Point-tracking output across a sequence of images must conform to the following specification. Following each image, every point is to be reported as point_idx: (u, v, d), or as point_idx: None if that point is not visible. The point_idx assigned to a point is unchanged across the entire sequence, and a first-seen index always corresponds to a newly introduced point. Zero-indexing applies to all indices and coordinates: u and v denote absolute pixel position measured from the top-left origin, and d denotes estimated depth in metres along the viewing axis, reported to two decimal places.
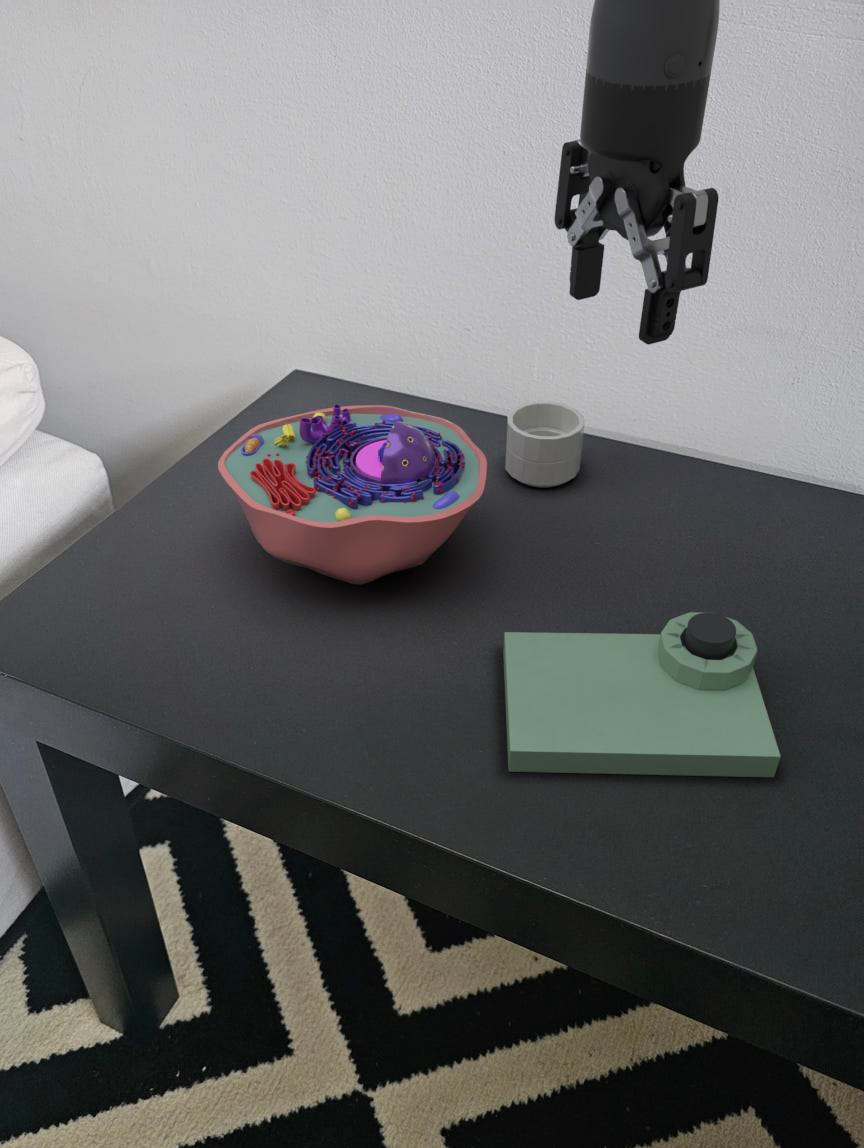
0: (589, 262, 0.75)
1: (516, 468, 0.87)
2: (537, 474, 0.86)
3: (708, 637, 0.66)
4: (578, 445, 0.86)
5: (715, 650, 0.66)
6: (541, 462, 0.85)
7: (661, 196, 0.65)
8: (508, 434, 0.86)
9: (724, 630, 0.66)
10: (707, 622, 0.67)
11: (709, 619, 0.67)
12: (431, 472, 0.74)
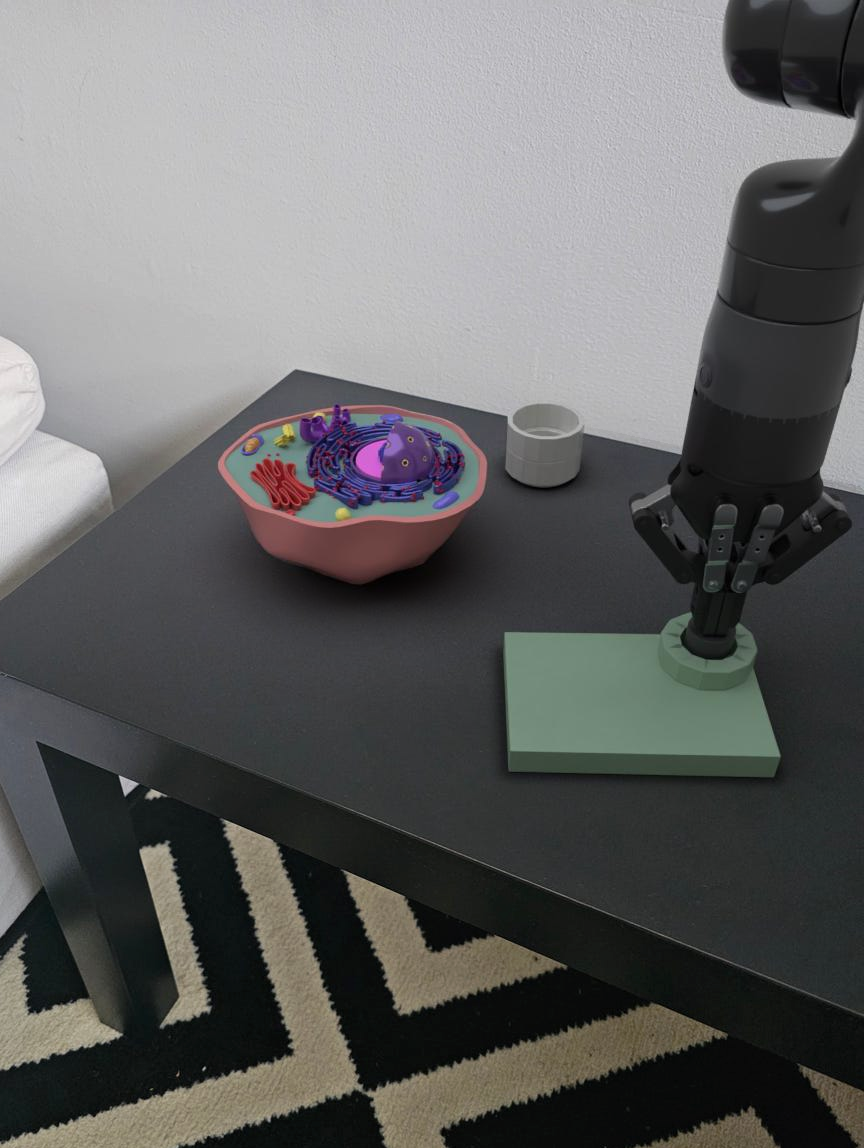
0: None
1: (516, 468, 0.87)
2: (537, 474, 0.86)
3: (708, 637, 0.66)
4: (578, 445, 0.86)
5: (715, 650, 0.66)
6: (541, 462, 0.85)
7: (821, 493, 0.58)
8: (508, 434, 0.86)
9: None
10: None
11: None
12: (431, 472, 0.74)
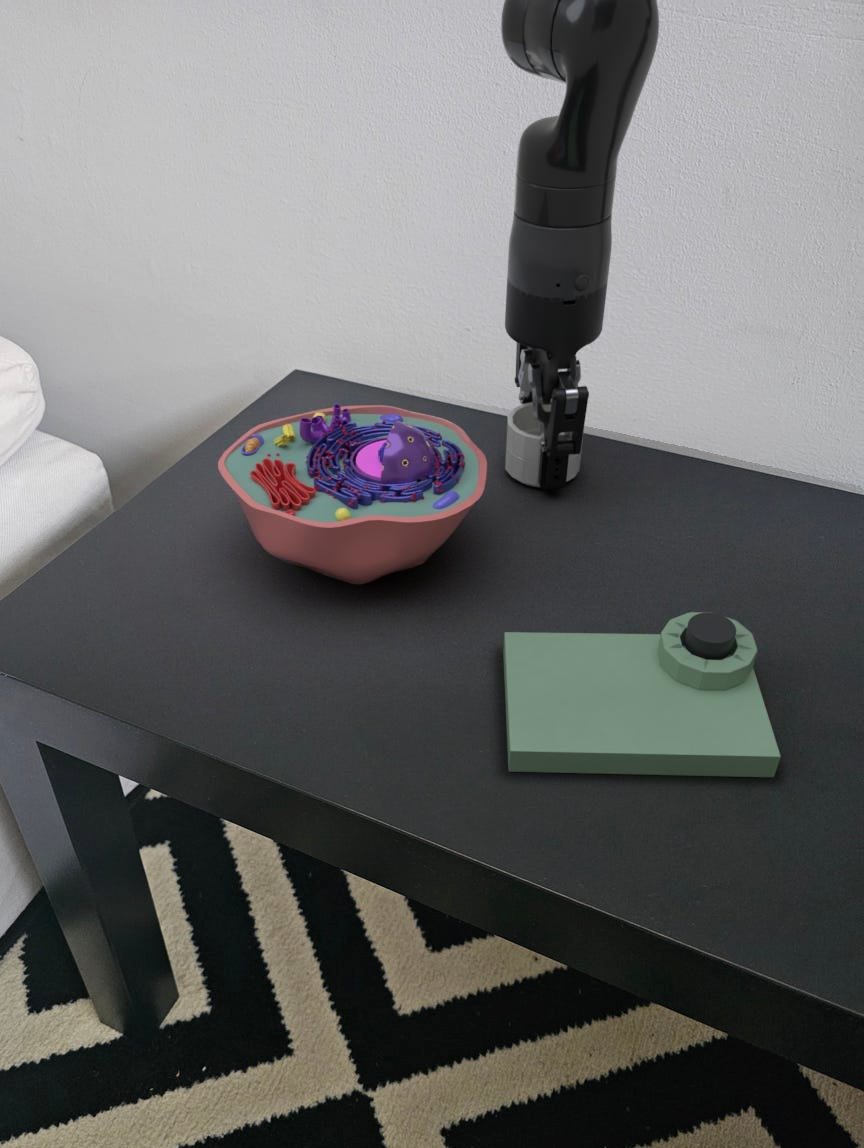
0: None
1: (516, 468, 0.87)
2: (537, 474, 0.86)
3: (708, 637, 0.66)
4: None
5: (715, 650, 0.66)
6: None
7: None
8: (508, 434, 0.86)
9: (724, 630, 0.66)
10: (707, 622, 0.67)
11: (709, 619, 0.67)
12: (431, 472, 0.74)
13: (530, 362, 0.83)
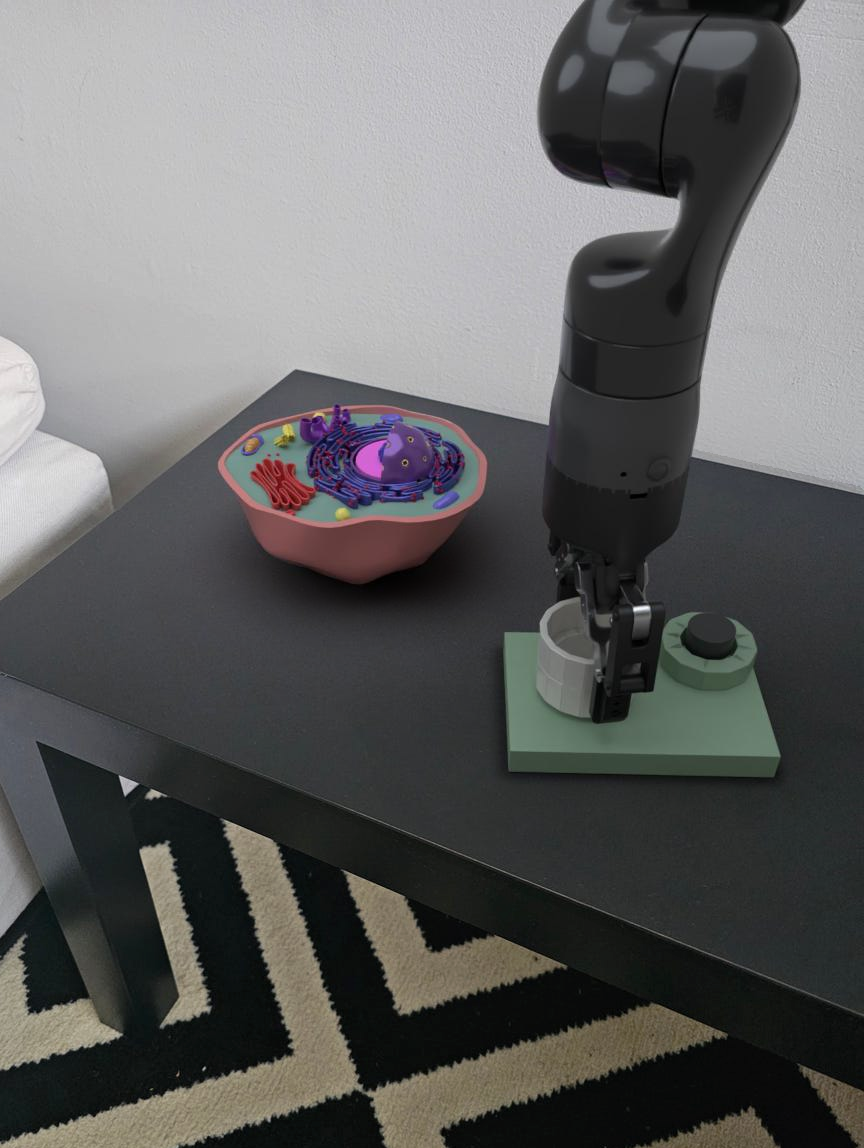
0: None
1: (552, 693, 0.64)
2: (581, 704, 0.63)
3: (708, 637, 0.66)
4: None
5: (715, 650, 0.66)
6: (587, 690, 0.62)
7: None
8: (541, 648, 0.63)
9: (724, 630, 0.66)
10: (707, 622, 0.67)
11: (709, 619, 0.67)
12: (431, 472, 0.74)
13: (576, 554, 0.60)
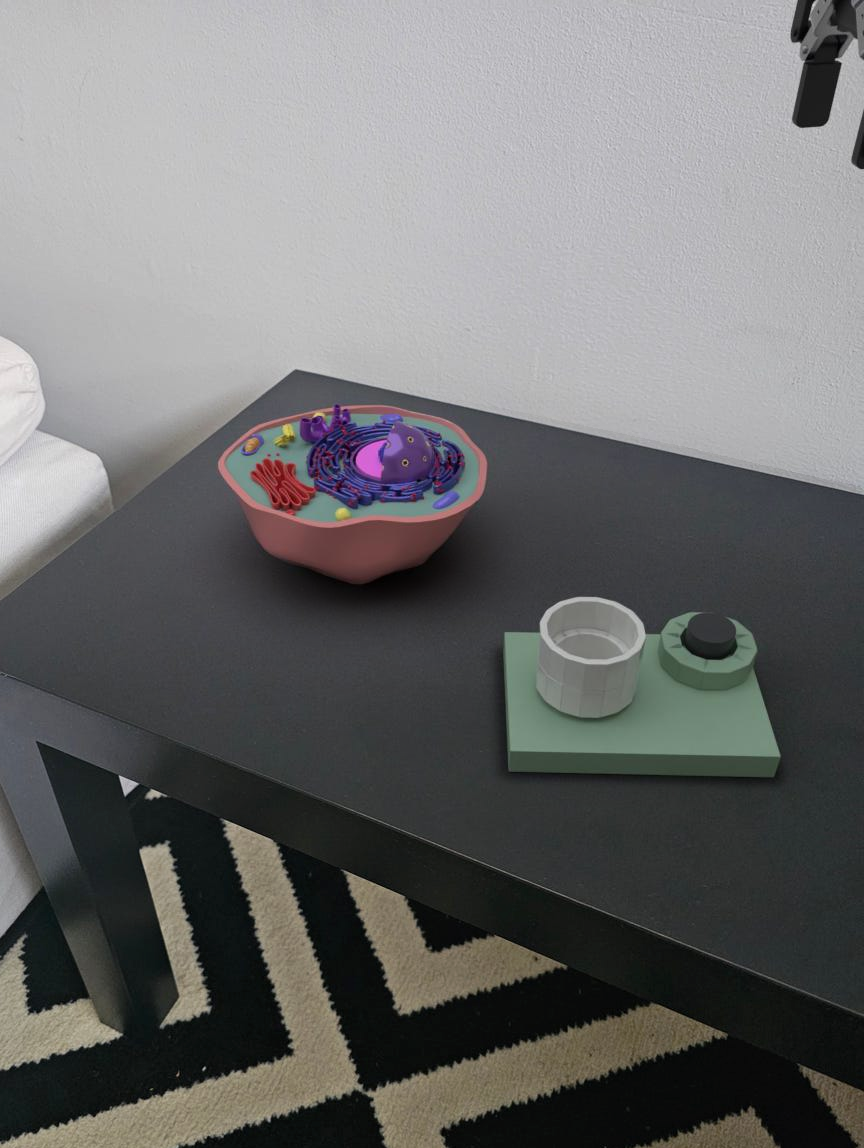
0: None
1: (552, 693, 0.64)
2: (581, 704, 0.63)
3: (708, 637, 0.66)
4: (637, 666, 0.63)
5: (715, 650, 0.66)
6: (587, 690, 0.62)
7: None
8: (541, 648, 0.63)
9: (724, 630, 0.66)
10: (707, 622, 0.67)
11: (709, 619, 0.67)
12: (431, 472, 0.74)
13: None
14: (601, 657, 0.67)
